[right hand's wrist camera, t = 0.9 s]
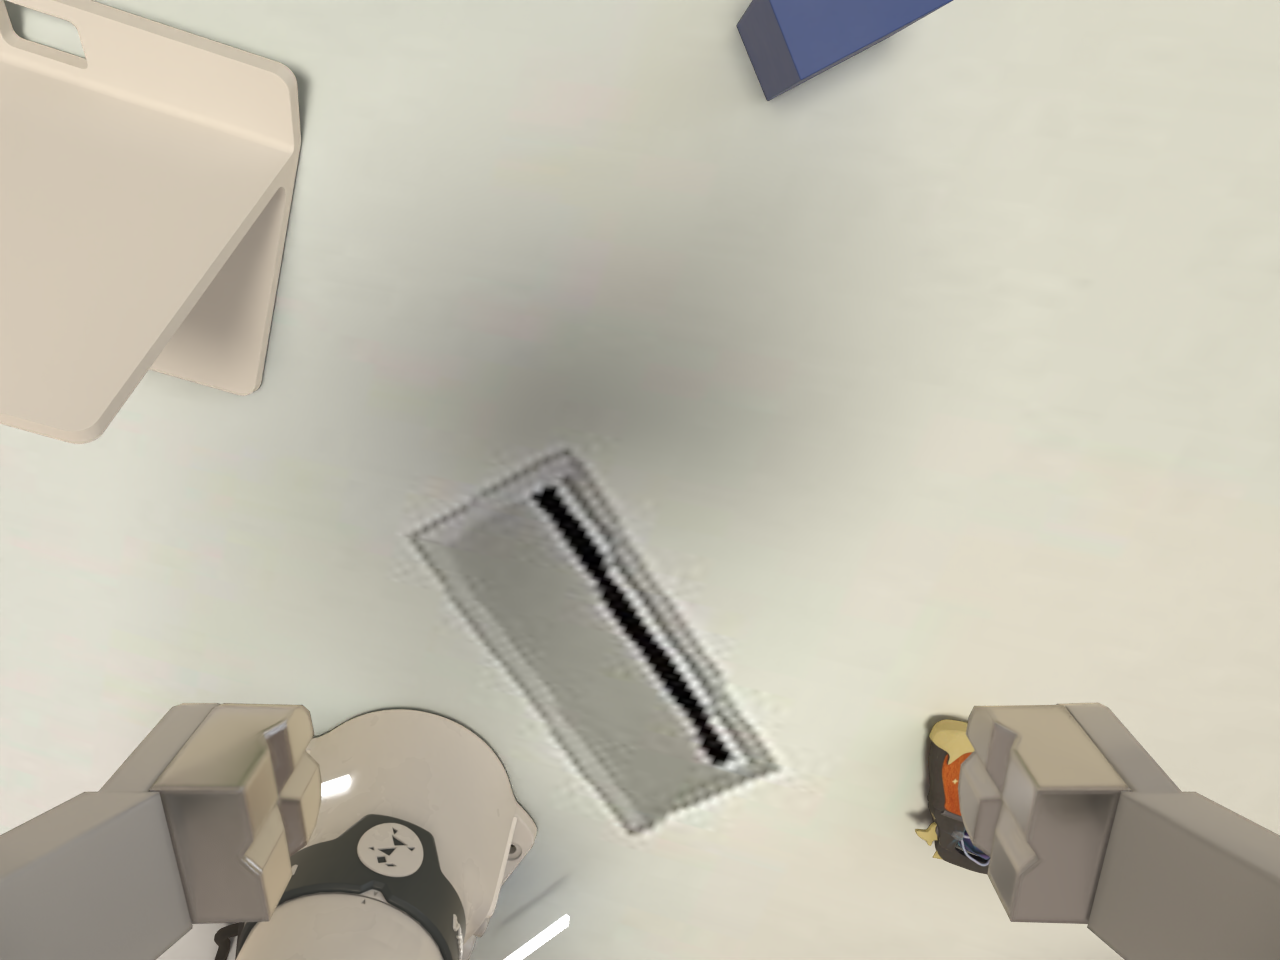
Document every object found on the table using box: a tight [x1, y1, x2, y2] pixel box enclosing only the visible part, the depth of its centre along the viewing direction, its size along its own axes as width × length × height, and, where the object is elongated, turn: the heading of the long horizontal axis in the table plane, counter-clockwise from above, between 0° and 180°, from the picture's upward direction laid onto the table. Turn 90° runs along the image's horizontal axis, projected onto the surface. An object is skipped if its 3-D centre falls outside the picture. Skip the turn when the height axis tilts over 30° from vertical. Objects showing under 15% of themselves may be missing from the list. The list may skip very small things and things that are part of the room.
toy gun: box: [915, 720, 990, 874], centre depth 59 cm, size 3×19×10 cm
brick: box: [737, 0, 953, 101], centre depth 39 cm, size 4×7×10 cm, turn 116°
